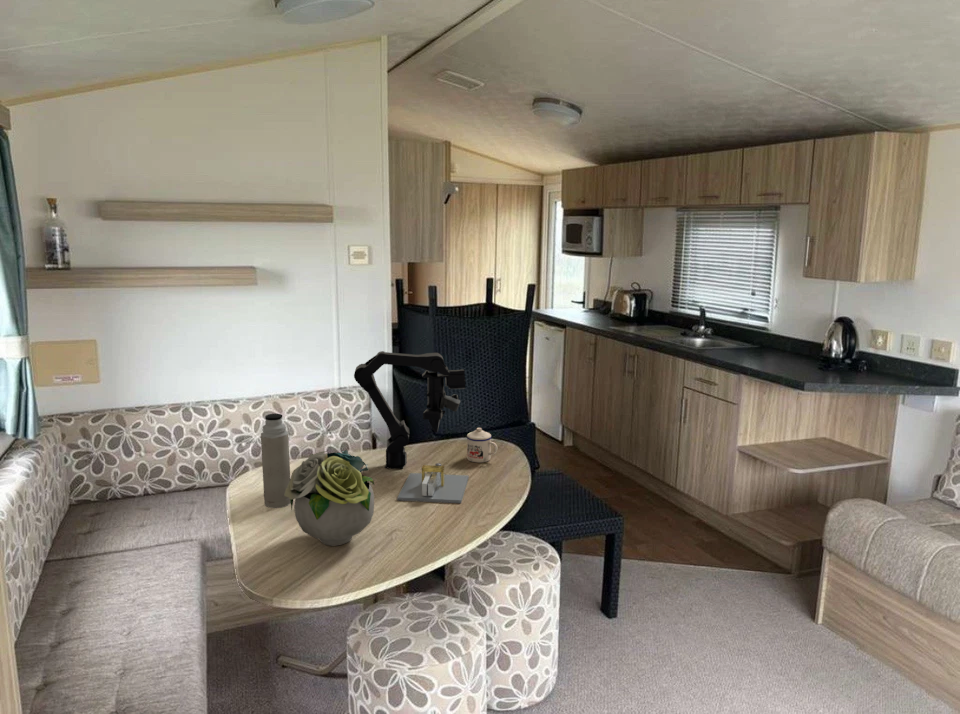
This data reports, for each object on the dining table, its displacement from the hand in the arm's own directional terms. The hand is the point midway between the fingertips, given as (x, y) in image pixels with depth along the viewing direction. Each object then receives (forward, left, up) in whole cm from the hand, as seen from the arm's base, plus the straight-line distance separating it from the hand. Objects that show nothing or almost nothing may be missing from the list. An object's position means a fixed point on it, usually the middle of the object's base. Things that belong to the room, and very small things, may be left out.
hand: (436, 432), depth 243 cm
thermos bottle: (-43, -39, -12) cm, 59 cm away
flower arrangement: (-18, -61, -12) cm, 65 cm away
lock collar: (+2, -22, -11) cm, 25 cm away
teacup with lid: (+16, +7, -12) cm, 21 cm away
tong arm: (+3, -23, -11) cm, 26 cm away
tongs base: (+3, -22, -12) cm, 26 cm away
